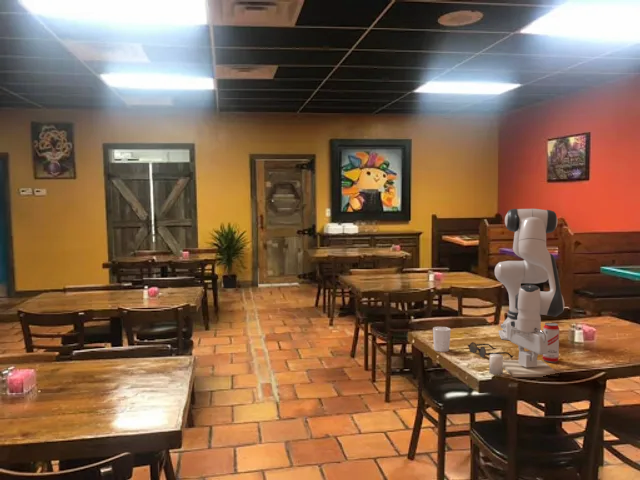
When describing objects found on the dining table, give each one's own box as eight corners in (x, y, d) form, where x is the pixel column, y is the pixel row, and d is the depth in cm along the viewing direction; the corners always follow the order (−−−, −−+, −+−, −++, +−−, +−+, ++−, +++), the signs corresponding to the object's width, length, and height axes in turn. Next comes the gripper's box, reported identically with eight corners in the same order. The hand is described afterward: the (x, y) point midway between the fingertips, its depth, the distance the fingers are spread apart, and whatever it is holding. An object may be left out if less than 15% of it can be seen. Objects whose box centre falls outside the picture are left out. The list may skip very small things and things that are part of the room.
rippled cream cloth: (498, 362, 221) (498, 360, 221) (541, 363, 221) (541, 360, 221) (512, 376, 203) (512, 373, 203) (559, 377, 203) (559, 374, 203)
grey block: (529, 362, 215) (529, 350, 215) (537, 366, 210) (537, 354, 210) (518, 363, 214) (518, 351, 213) (526, 367, 209) (526, 355, 209)
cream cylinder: (487, 370, 211) (488, 353, 211) (500, 370, 211) (500, 353, 210) (491, 374, 206) (491, 357, 206) (504, 374, 206) (504, 357, 205)
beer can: (560, 363, 220) (561, 326, 219) (544, 362, 221) (545, 325, 220) (556, 359, 226) (557, 322, 225) (541, 358, 227) (542, 322, 226)
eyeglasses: (467, 351, 240) (467, 340, 240) (495, 348, 244) (495, 338, 244) (485, 360, 226) (486, 349, 226) (515, 357, 230) (515, 346, 230)
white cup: (438, 346, 247) (439, 325, 246) (453, 349, 241) (453, 328, 240) (429, 350, 241) (429, 328, 241) (444, 353, 236) (444, 331, 235)
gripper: (552, 331, 201) (551, 366, 202) (520, 319, 221) (519, 351, 222) (538, 332, 200) (537, 367, 201) (507, 320, 220) (506, 353, 221)
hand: (527, 359), depth 212 cm, fingers open, 5 cm apart
